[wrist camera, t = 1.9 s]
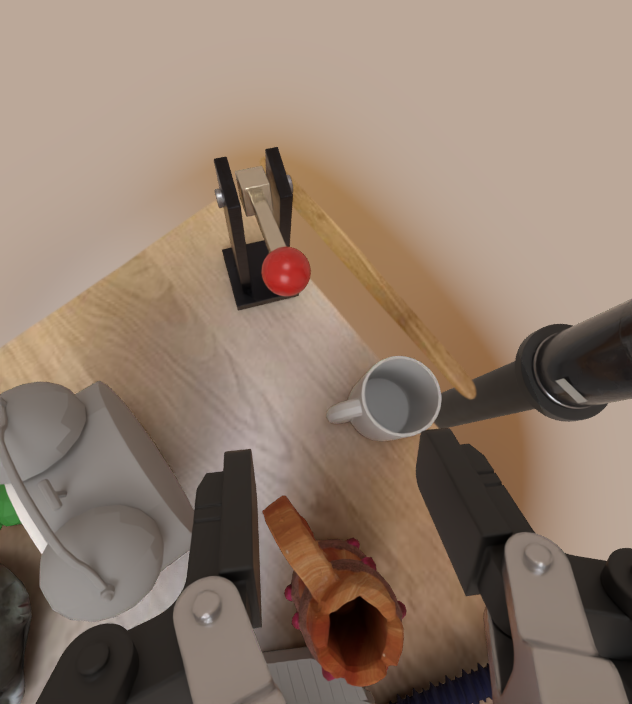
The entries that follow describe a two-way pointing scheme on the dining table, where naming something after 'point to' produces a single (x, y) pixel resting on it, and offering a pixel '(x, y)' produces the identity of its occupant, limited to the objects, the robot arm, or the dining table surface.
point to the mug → (338, 601)
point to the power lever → (272, 236)
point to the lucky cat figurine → (12, 636)
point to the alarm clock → (90, 497)
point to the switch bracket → (241, 256)
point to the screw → (455, 690)
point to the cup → (391, 400)
